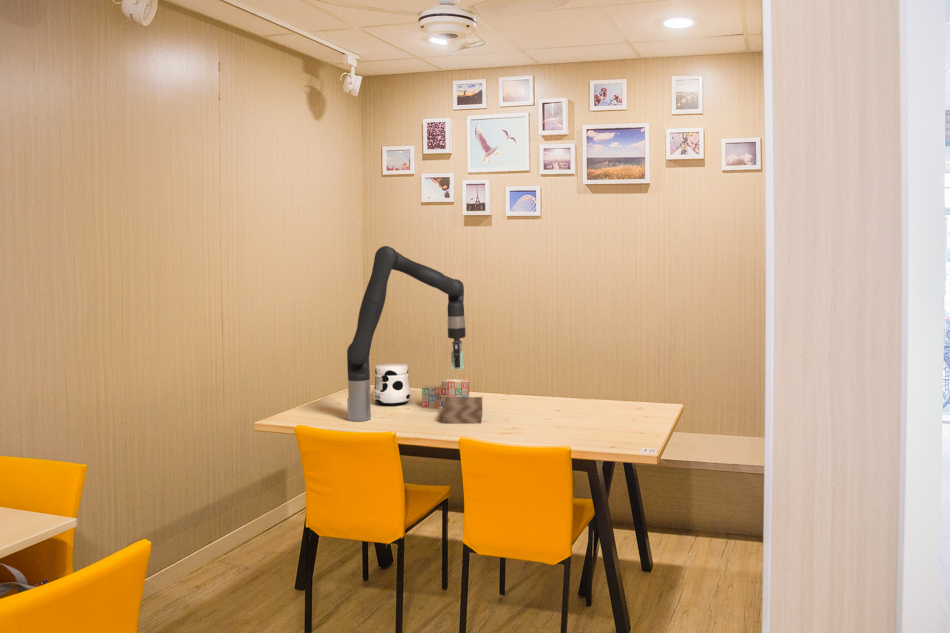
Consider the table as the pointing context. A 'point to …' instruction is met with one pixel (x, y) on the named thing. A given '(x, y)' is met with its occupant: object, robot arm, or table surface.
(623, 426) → the table surface
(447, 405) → the block
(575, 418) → the table surface
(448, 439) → the table surface
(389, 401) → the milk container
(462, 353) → the sage block
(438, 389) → the stack of blocks
